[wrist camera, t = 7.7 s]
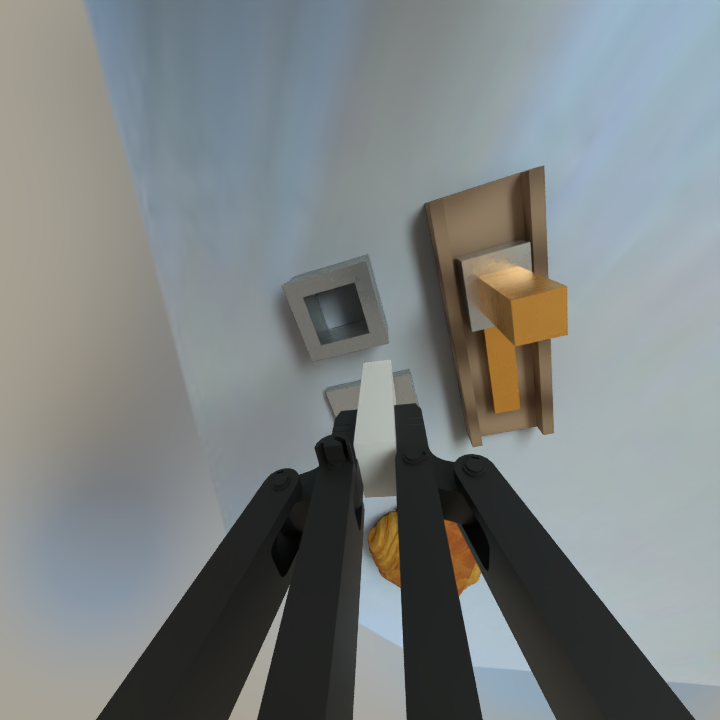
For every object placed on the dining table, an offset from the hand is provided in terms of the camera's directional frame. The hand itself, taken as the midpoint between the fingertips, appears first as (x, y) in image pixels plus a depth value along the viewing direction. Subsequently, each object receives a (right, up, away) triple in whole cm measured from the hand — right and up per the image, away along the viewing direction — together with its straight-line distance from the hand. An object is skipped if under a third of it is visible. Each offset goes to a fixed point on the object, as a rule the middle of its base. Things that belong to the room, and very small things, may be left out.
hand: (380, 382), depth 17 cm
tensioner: (+11, +3, +11) cm, 16 cm away
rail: (+11, +4, +12) cm, 17 cm away
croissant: (+8, -22, +25) cm, 35 cm away
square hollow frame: (-3, +7, +12) cm, 14 cm away
